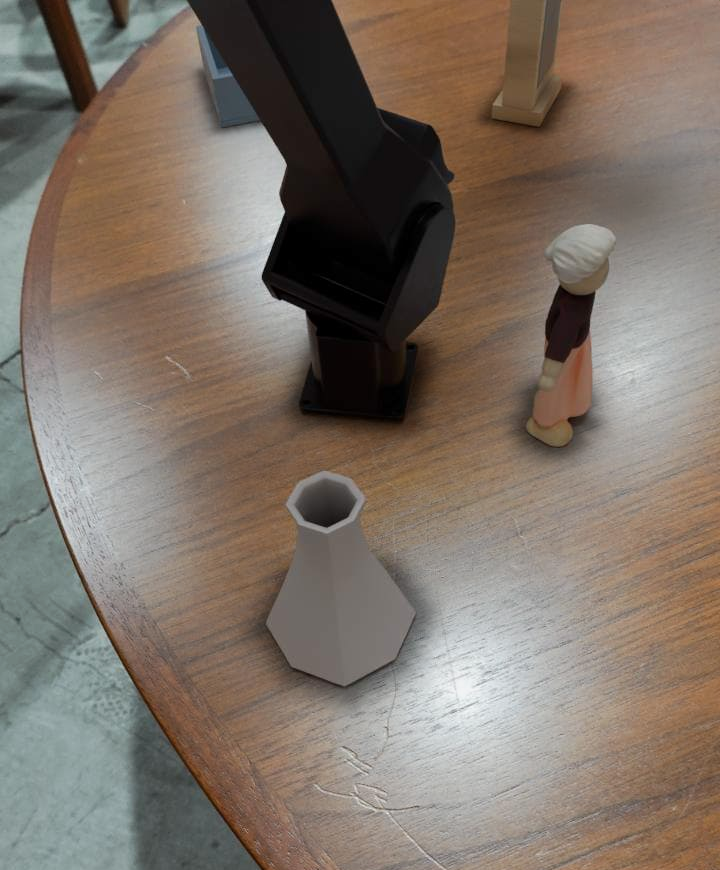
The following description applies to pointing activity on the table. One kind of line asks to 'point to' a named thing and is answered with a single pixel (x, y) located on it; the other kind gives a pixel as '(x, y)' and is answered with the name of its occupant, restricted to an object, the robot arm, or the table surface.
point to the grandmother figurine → (570, 331)
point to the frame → (530, 62)
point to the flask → (336, 588)
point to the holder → (223, 86)
